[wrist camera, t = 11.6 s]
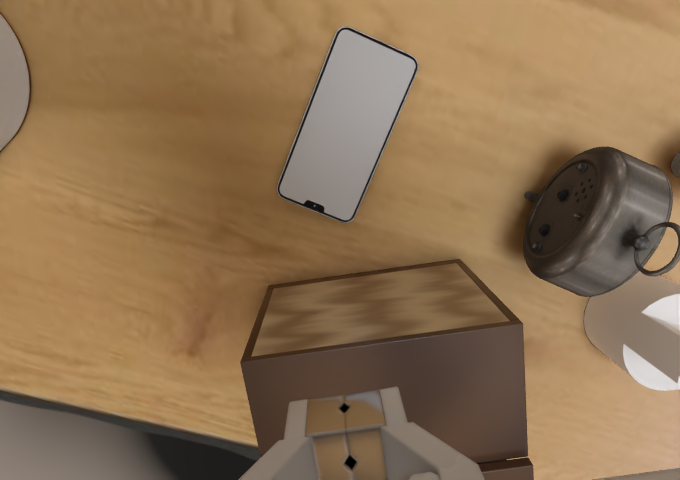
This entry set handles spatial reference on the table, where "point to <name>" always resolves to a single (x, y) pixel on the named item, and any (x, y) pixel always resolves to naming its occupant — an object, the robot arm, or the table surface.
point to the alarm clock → (598, 222)
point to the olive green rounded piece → (676, 165)
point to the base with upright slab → (639, 329)
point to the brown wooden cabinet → (397, 356)
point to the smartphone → (346, 124)
